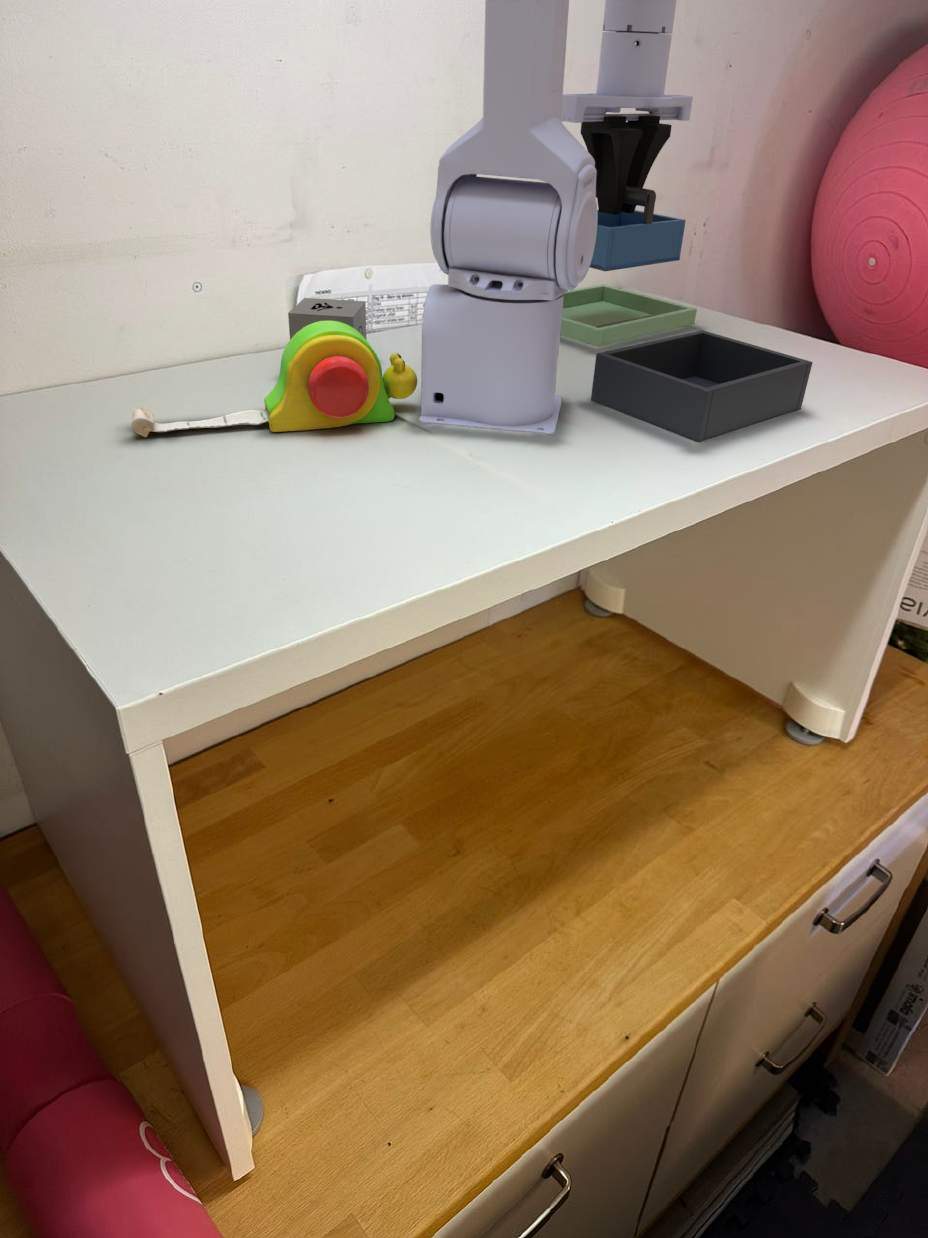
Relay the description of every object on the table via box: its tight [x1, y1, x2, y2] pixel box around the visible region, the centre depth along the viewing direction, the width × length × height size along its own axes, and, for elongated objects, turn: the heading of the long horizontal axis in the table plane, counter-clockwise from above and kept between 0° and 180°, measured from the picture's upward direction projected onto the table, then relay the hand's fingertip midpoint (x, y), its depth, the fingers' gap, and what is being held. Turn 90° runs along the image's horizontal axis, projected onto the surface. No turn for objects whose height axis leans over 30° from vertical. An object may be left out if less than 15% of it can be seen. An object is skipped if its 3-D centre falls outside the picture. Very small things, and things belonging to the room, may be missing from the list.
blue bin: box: [589, 186, 686, 272], centre depth 81 cm, size 10×8×6 cm
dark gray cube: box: [287, 297, 367, 341], centre depth 71 cm, size 5×5×5 cm
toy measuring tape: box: [131, 321, 418, 438], centre depth 60 cm, size 6×20×7 cm, turn 107°
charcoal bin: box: [590, 329, 814, 443], centre depth 66 cm, size 12×10×4 cm
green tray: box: [560, 284, 698, 347], centre depth 87 cm, size 14×12×2 cm
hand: (616, 212), depth 81 cm, fingers closed on blue bin
